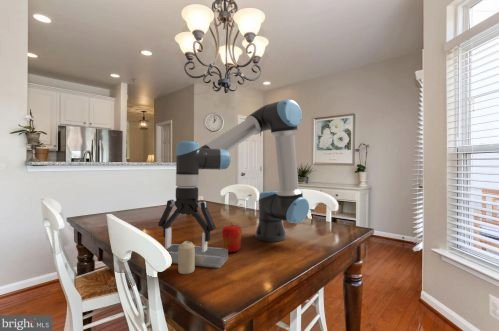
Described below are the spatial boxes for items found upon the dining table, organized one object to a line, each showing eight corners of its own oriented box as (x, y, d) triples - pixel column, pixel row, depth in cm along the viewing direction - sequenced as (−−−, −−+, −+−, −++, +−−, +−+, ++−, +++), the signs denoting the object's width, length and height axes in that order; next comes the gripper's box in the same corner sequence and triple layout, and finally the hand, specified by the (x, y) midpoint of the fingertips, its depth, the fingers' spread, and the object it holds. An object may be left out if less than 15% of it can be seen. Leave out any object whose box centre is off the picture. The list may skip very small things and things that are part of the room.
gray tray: (228, 258, 100) (228, 248, 100) (219, 268, 90) (219, 257, 90) (172, 252, 105) (172, 243, 105) (159, 261, 96) (159, 251, 96)
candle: (179, 267, 91) (179, 239, 90) (195, 267, 91) (195, 239, 91) (176, 274, 85) (176, 244, 85) (193, 274, 86) (193, 244, 85)
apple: (236, 255, 102) (236, 226, 102) (218, 252, 105) (218, 224, 105) (245, 248, 110) (245, 221, 110) (227, 246, 113) (227, 219, 113)
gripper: (225, 187, 88) (224, 248, 88) (160, 184, 94) (159, 242, 94) (217, 189, 81) (216, 256, 81) (148, 186, 86) (147, 248, 86)
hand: (186, 248), depth 87 cm, fingers open, 13 cm apart
